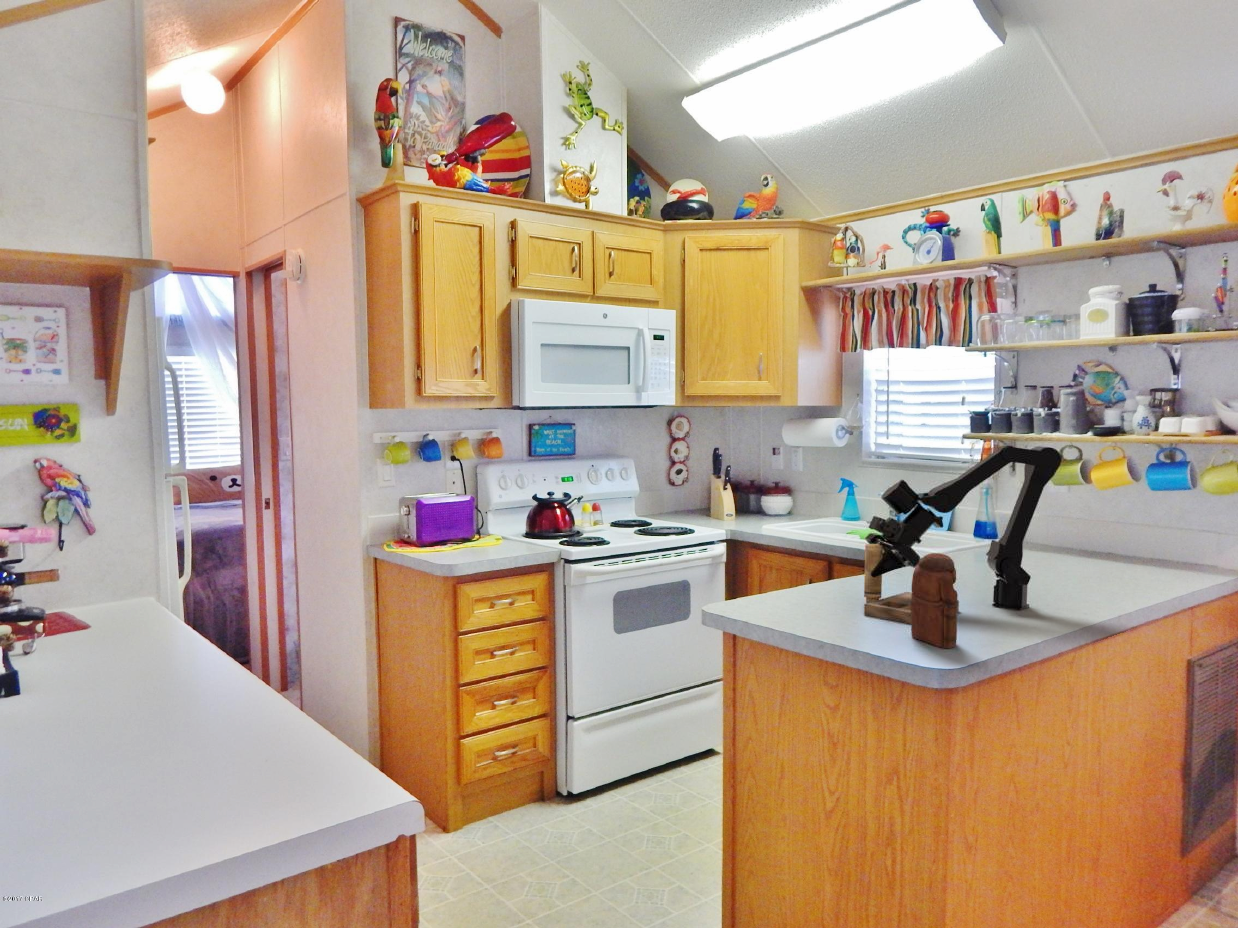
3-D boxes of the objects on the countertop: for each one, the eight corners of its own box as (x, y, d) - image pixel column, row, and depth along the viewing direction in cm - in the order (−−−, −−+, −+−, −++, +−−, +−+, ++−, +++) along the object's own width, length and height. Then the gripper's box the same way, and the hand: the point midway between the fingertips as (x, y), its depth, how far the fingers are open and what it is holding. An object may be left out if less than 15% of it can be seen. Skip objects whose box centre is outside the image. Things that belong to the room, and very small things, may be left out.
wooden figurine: (968, 647, 171) (971, 557, 170) (942, 650, 168) (945, 559, 167) (926, 632, 182) (929, 548, 181) (902, 635, 179) (905, 549, 178)
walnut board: (958, 610, 202) (958, 600, 202) (918, 625, 188) (918, 613, 188) (906, 601, 211) (906, 591, 211) (864, 614, 197) (864, 603, 197)
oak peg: (884, 603, 208) (885, 545, 207) (875, 605, 205) (877, 547, 204) (869, 600, 211) (870, 543, 210) (860, 602, 208) (862, 545, 207)
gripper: (873, 500, 216) (830, 545, 215) (909, 509, 198) (862, 557, 197) (902, 531, 218) (859, 575, 217) (940, 542, 200) (894, 591, 199)
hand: (867, 574), depth 207 cm, fingers closed on oak peg, 4 cm apart
